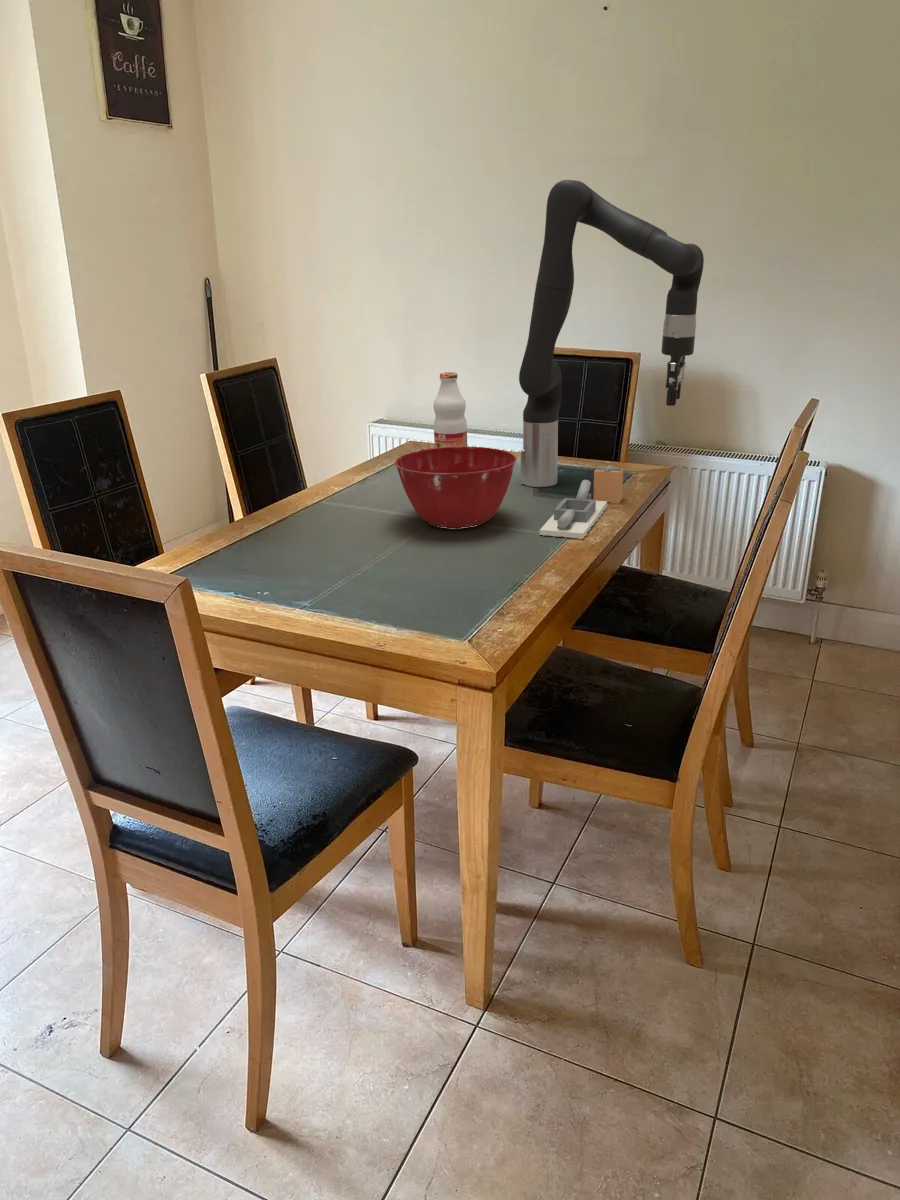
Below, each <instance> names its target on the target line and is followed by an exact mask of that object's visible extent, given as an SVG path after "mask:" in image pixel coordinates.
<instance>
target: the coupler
mask: <svg viewBox="0 0 900 1200" xmlns="http://www.w3.org/2000/svg"><path fill="white" fill-rule="evenodd" d="M623 485H624V468H622V467H621V466H614V465H612V464H608V465H606V466H605V465H596V469H595V470H594V471H593V499H592V500H596V501H607V502H609V503H608V504H616V503H619V504H620V503H621V502H622V501H623V493H624V492H623V489H624V487H623ZM620 501H621V502H620ZM610 502H611V503H610Z"/></svg>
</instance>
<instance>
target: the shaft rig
mask: <svg viewBox="0 0 900 1200" xmlns="http://www.w3.org/2000/svg"><path fill="white" fill-rule="evenodd" d="M591 486H592V482H591V481H590V480H588V479H583V480H581V483H580V485H579V488H578V491H577V495H576V498H571V497H569V498H568V497H567V498H566V497H564V498H563V499H562V500H560V502H559V503H558V505H557V506H556V507H555V508H554V509H553V514H552V516H551V517H549V519H548V520H547V521H546V522H545V524H543V525H542V527H541V528H540V529H539V536H540V535H551V536H564V537H577V538H578V537H580V538H584V536H585V535H586V534H587V532H588V531H589V530H590V529H591V527H592V526H593V525H594V526H595V524H596V523H597V522H598V520H599V519H600V518H601V516H602V515H603V513H604V512H605V511H606V509H607V508H608V503H607V501H596V500H593V499H592V493H589V491H590V489H591ZM604 510H605V511H604ZM603 511H604V512H603ZM601 514H602V515H601ZM599 517H600V518H599ZM598 518H599V519H598ZM596 521H597V522H596ZM595 522H596V523H595ZM594 523H595V524H594ZM594 526H593V527H594ZM593 527H592V528H593ZM591 530H592V529H591ZM591 530H590V531H591ZM590 531H589V532H590ZM587 535H588V534H587ZM587 535H586V536H587ZM584 539H585V538H584Z"/></svg>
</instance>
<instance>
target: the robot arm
mask: <svg viewBox="0 0 900 1200" xmlns="http://www.w3.org/2000/svg"><path fill="white" fill-rule="evenodd" d="M545 210H546V211H545V212H546V213H545V226H544V227H545V229H544V240H543V246H542V251H541V256H540V260H539V268H538V275H537V278H536V282H535V283H536V284H535V289H534V290H535V291H534V297H533V303H532V310H531V317H530V324H529V329H528V337H527V342H526V346H525V350H524V354H523V358H522V361H521V364H520V365H521V366H520V369H519V374H518V381H519V386H520V388H521V390H522V392H524V393H525V394H526V395H527V401H526V405H525V407H524V409H523V411H522V434H523V435H522V438H523V439H522V447H523V448H521V450H520V485H522V484H524V486H527V487H532V488H533V487H534V488H547V487H552V486H555V485H557V484H558V460H559V459H558V455H559V454H558V453H559V452H558V451H559V450H558V447H559V445H558V443H559V441H558V440H559V439H558V437H559V436H558V434H559V433H558V432H559V411H560V409H561V402H562V385H563V384H562V383H563V382H562V380H563V379H562V371H561V367H560V364H559V363H558V362H557V361H556V360H555V359H554V354H555V353H554V352H555V347H556V344H557V343H556V342H557V340H558V337H559V335H560V333H561V330H562V329H563V325H564V324H565V321H566V319H567V315H568V314H569V309H570V307H571V301H572V298H573V297H572V296H573V291H574V284H575V270H574V259H573V243H574V238H575V233H576V227H577V223H579V224H580V223H581V224H583V225H587V226H590V227H593V228H595V229H597V230H600V231H601V232H603V233H605V234H606V235H608V236H609V237H610V238H612V239H613V240H615V241H616V242H617V243H618V244H619V245H621V246H623V247H624V248H626V249H627V250H630V251H631V252H633V253H635V254H637V255H638V256H641V257H642V258H645V259H646V260H649V261H652V262H653V263H654V264H655V265H657V266H658V267H659V268H661V269H663V270H664V271H665V272H667V273H669V274H670V275H672V282H671V287H670V288H669V290H668V292H667V296H666V306H665V315H664V320H663V327H662V328H663V329H662V341H661V354H662V355H664V356H670V360H669V361H668V362H667V363H666V364H667V365H666V376H665V377H666V381H665V382H666V383H665V389H666V401H665V402H666V403H665V404H666V406H670V407H674V406H676V405H677V404H676V403H677V400H680V398H681V390H682V384H683V381H684V377H685V368H686V357H687V356H692V355H693V354H694V352H695V351H694V349H695V340H696V329H697V318H696V317H697V315H696V314H697V309H698V308H697V306H698V293H699V288H700V285H701V279H702V275H703V270H704V262H705V259H704V253H703V250H702V249H701V248H700V246H698V244H697V245H696V244H694V243H684V242H682V241H679V240H677V239H676V238H673V237H671V236H669V235H668V234H667V232H666V231H665V230H663V229H661V228H660V227H658V226H656V225H654V224H652V223H650V222H649V221H648V222H647V220H644V219H643V218H639V217H638V216H635V215H633V214H631V213H629V212H627V211H625V210H622V209H621V208H619V207H617V206H615V205H614V204H612V203H611V202H609V201H608V200H606V199H605V198H604V197H602V196H600V194H598V193H597V192H596V191H594V189H592V188H591V187H589V186H588V185H587V184H585V183H584V182H583V181H580V180H575V179H573V180H572V179H563V180H560V181H558V182H557V183H555V184H554V185H553V186H552V188H551V189H550V191H549V193H548V196H547V199H546V209H545Z"/></svg>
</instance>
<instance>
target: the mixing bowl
mask: <svg viewBox="0 0 900 1200" xmlns="http://www.w3.org/2000/svg"><path fill="white" fill-rule="evenodd" d="M517 459H518V458H517V456H516V455H515V454H514V453H512V452H509V451H507V450H503V449H500V448H499V449H498V448H492V447H485V446H484V447H483V446H467V447H442V448H434V447H431V449H427V448H426V449H420V450H415V451H411V452H408V453H405V454H403V455H400V456H399V457H397V458H396V459H395V460H394V465H395V467H396V468H397V473H398V475H399V479H400V481H401V484H402V486H403V490H404V491H405V492H404V493H405V494H406V496H407V498H408V500H409V502H410V504H411V506H412V507H413V509H414V511H415V513H416V514H417V515H418V516H419V518H421V520H423V521H424V522H426V523H428V524H429V525H431V524H432V525H435V526H439V527H447V528H461V527H470V526H475V525H479V524H481V523H484V524H485V523H486V522H488V521H489V520H490V519H491V518H493V516H494V515H495V514H496V513H498V510H499V508H500V506H501V504H502V502H503V500H504V498H505V496H506V494H507V490H508V489H509V485H510V482H511V479H512V476H513V472H514V467H515V464H516V462H517ZM432 525H431V526H432Z"/></svg>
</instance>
